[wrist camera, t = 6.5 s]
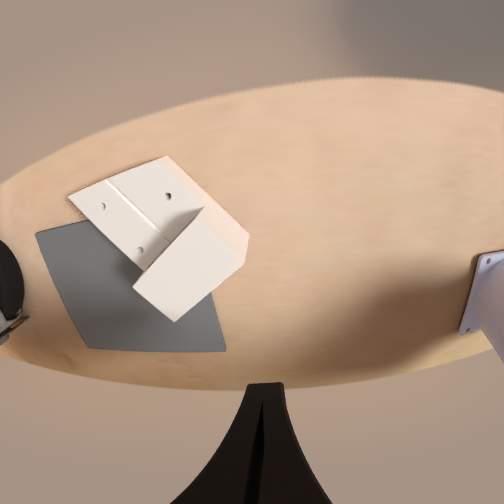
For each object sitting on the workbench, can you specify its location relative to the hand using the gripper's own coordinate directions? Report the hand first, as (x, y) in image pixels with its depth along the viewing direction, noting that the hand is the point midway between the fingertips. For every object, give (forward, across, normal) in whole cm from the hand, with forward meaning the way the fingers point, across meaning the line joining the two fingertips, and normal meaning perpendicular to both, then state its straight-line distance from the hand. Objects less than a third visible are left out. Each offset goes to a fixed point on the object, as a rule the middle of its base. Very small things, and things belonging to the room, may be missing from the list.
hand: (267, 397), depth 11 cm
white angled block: (+7, +3, -2) cm, 8 cm away
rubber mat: (+9, +11, 0) cm, 15 cm away
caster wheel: (+10, +28, -2) cm, 30 cm away
